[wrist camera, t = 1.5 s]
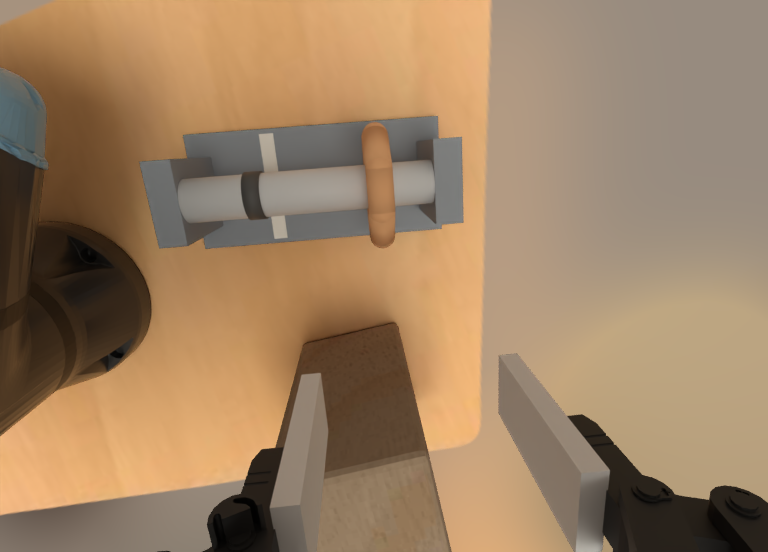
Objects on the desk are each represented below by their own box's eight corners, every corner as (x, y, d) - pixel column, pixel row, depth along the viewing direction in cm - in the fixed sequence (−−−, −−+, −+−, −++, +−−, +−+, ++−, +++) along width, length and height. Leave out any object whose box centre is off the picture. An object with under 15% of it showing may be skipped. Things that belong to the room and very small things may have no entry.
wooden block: (396, 320, 43) (428, 454, 24) (415, 402, 46) (458, 580, 27) (301, 342, 43) (259, 494, 24) (327, 423, 46) (306, 615, 27)
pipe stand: (209, 246, 40) (164, 275, 31) (187, 135, 37) (130, 130, 28) (439, 226, 41) (464, 249, 32) (435, 116, 38) (461, 105, 29)
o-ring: (369, 233, 37) (373, 258, 29) (359, 127, 34) (361, 120, 26) (389, 232, 37) (399, 256, 29) (382, 125, 35) (390, 117, 26)
